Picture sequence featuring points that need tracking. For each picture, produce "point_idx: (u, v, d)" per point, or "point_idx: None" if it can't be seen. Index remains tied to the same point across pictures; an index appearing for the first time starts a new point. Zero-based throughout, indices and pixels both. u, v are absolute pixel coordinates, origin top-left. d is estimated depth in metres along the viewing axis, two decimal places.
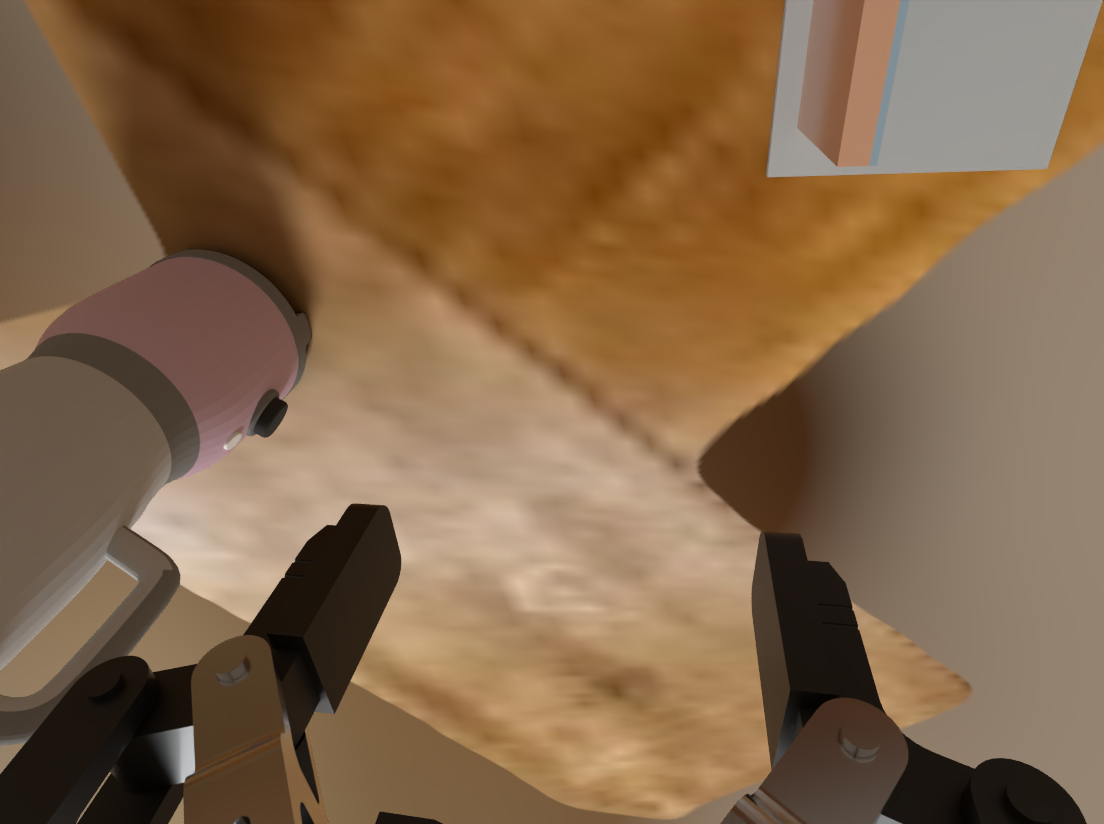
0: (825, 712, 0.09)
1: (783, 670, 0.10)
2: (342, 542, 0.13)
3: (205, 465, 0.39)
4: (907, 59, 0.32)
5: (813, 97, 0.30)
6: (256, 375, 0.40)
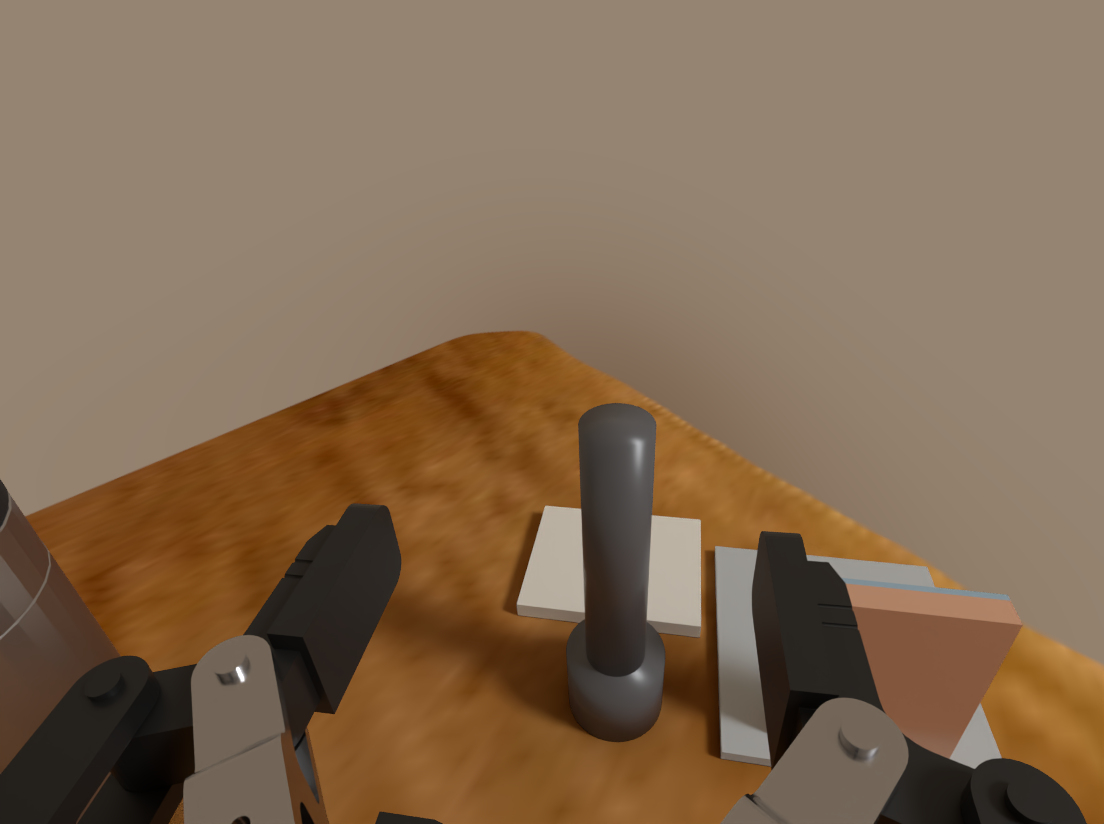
0: (824, 712, 0.09)
1: (784, 669, 0.10)
2: (342, 542, 0.13)
3: None
4: None
5: (925, 716, 0.29)
6: None
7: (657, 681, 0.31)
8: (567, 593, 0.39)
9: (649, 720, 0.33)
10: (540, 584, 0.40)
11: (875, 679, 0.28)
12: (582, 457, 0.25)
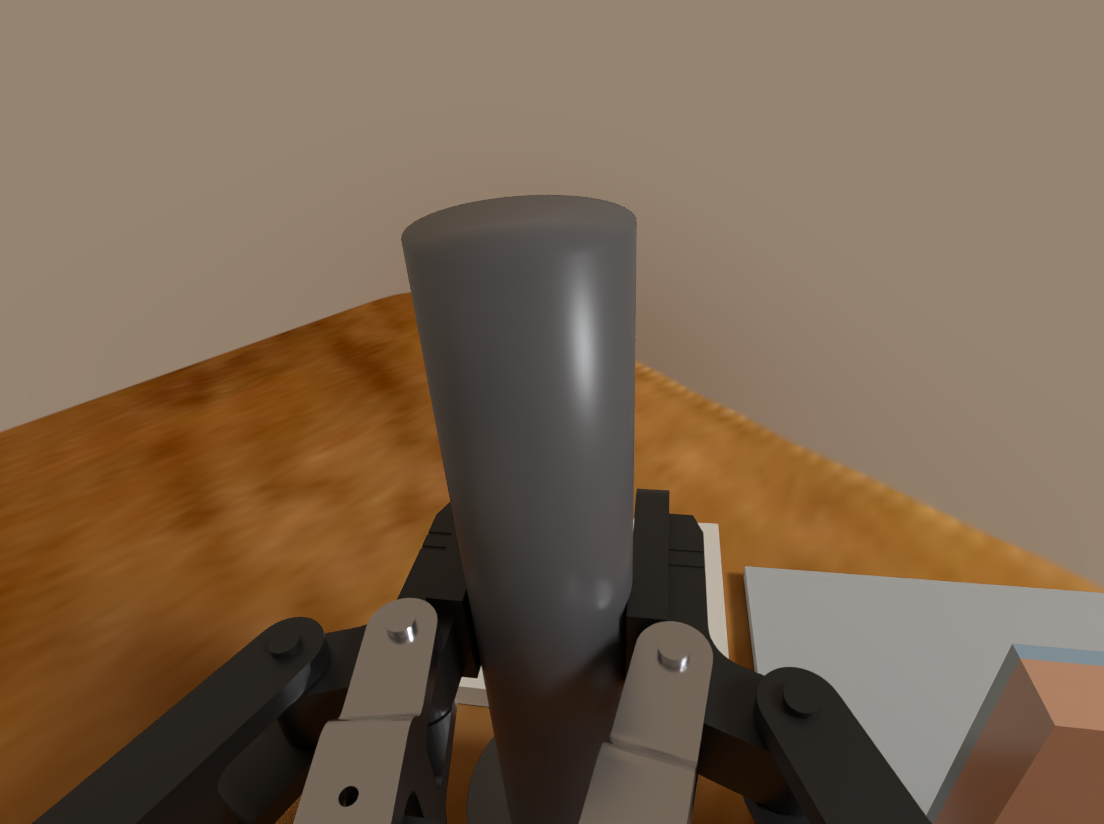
0: (643, 643, 0.10)
1: (628, 601, 0.11)
2: None
3: None
4: None
5: None
6: None
7: None
8: None
9: None
10: None
11: None
12: (420, 330, 0.08)
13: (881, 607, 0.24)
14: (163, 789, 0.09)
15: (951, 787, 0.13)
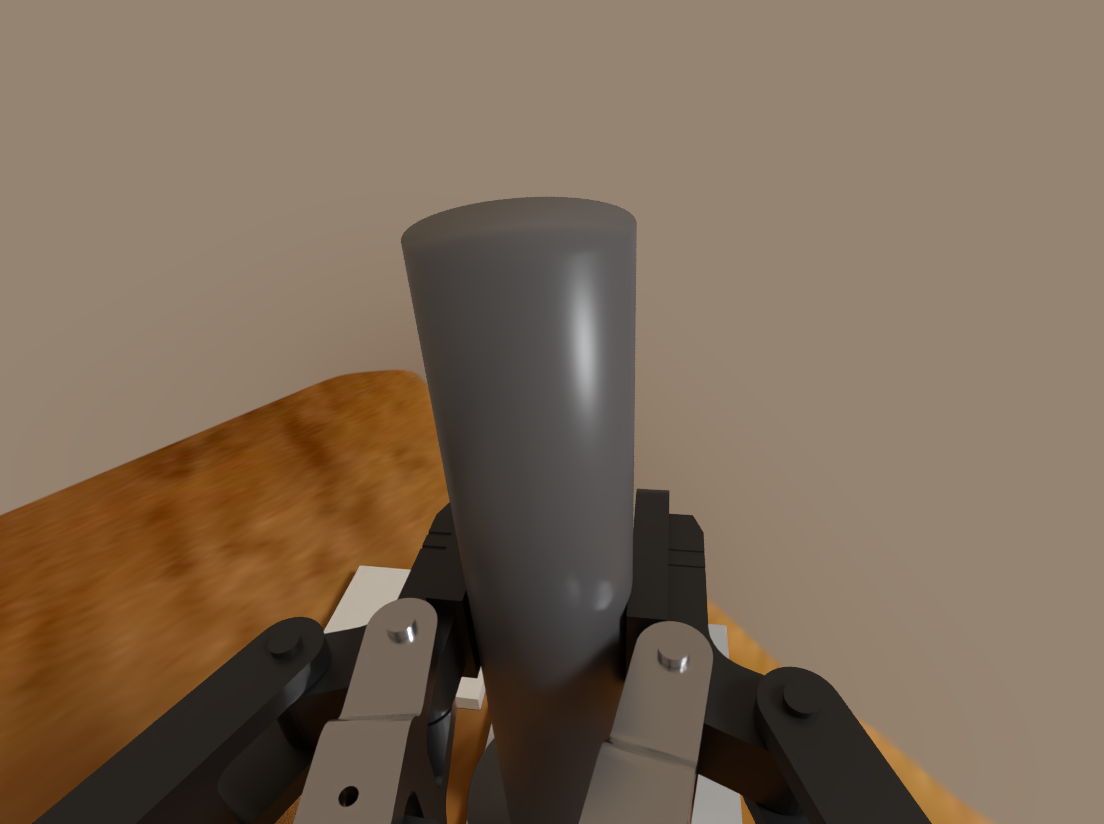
0: (643, 643, 0.10)
1: None
2: None
3: None
4: None
5: None
6: None
7: None
8: None
9: None
10: None
11: None
12: (419, 332, 0.08)
13: None
14: (163, 789, 0.09)
15: None
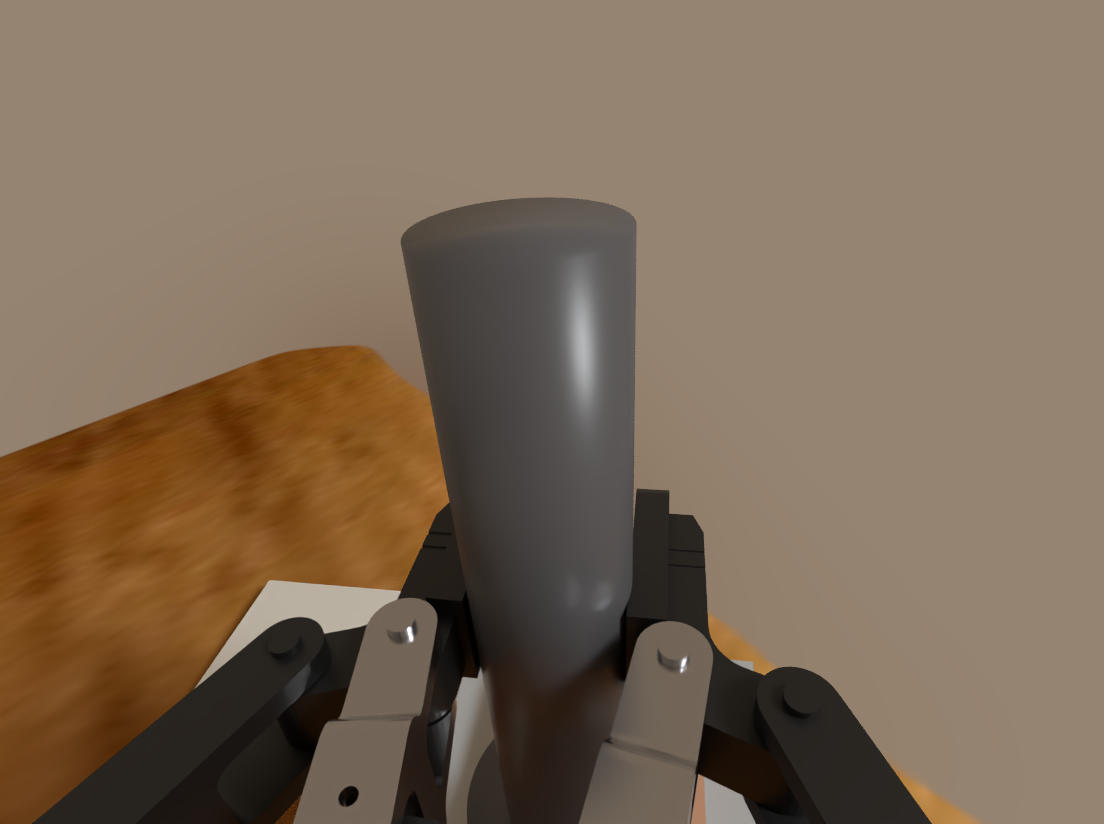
0: (643, 642, 0.10)
1: (628, 601, 0.11)
2: None
3: None
4: None
5: None
6: None
7: None
8: None
9: None
10: None
11: None
12: (419, 333, 0.08)
13: None
14: (163, 789, 0.09)
15: None
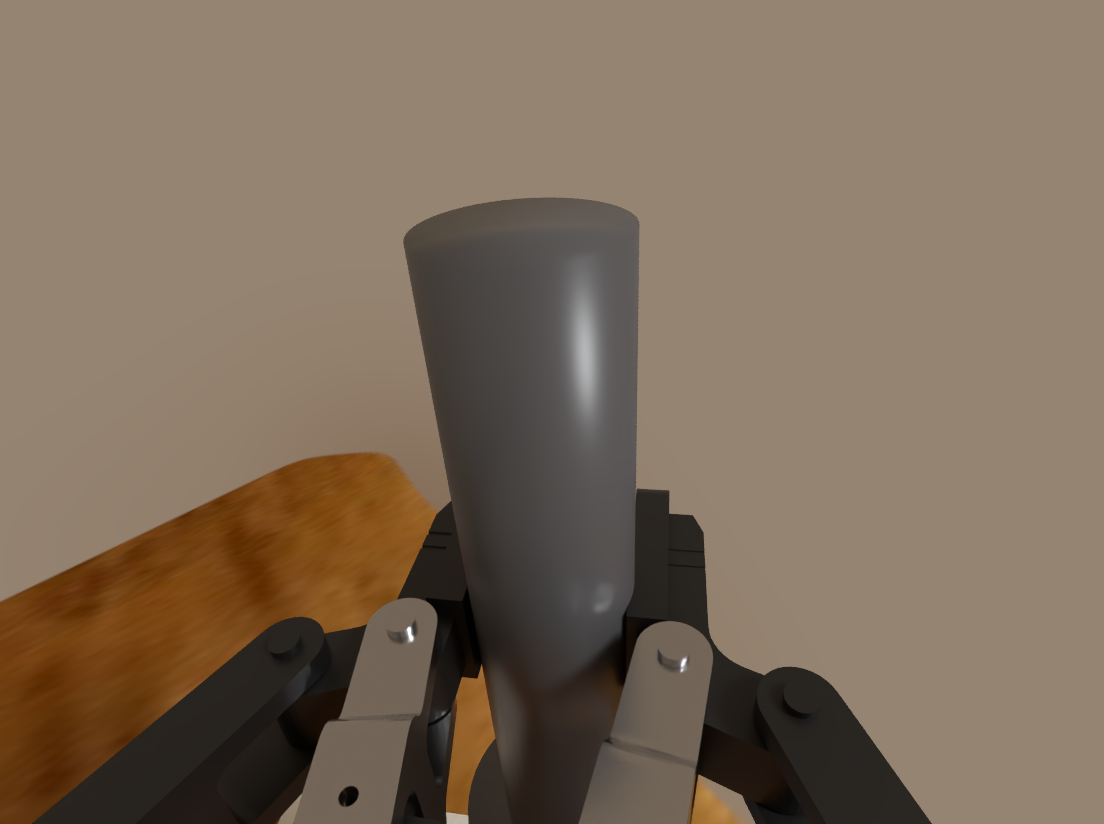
0: (642, 643, 0.10)
1: None
2: None
3: None
4: None
5: None
6: None
7: None
8: None
9: None
10: None
11: None
12: (422, 333, 0.08)
13: None
14: (163, 789, 0.09)
15: None
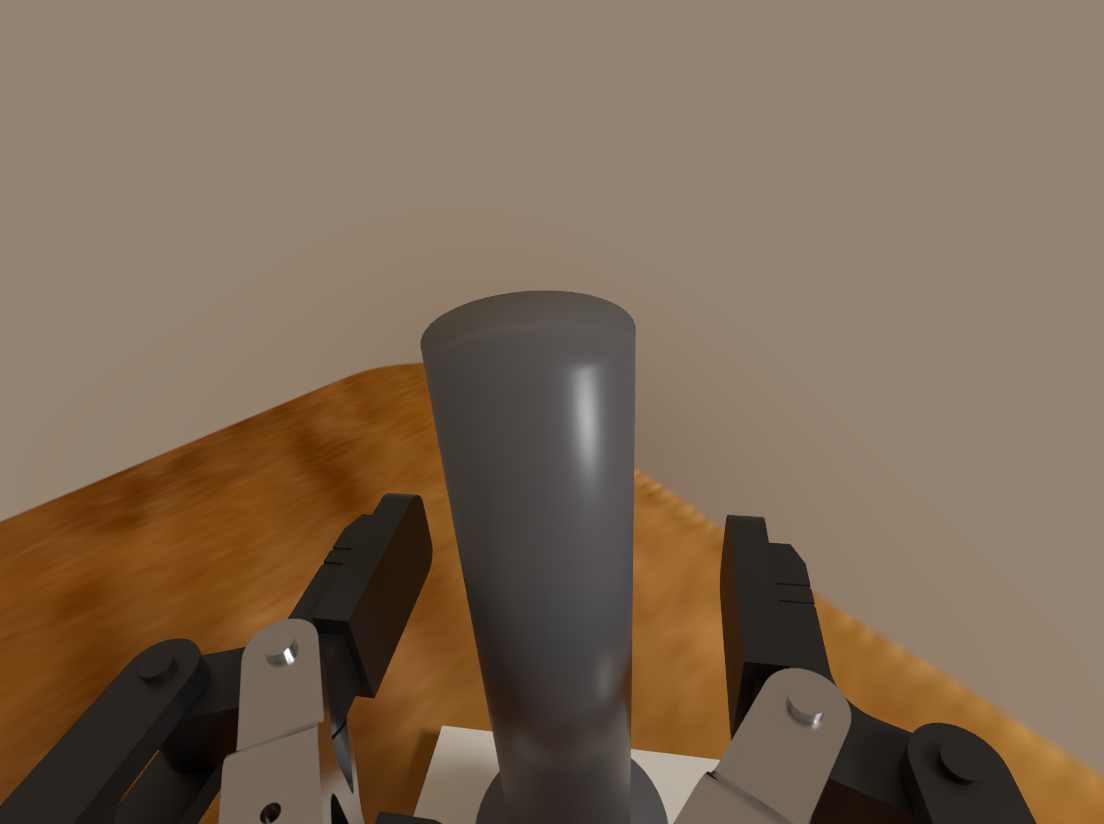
0: (773, 685, 0.09)
1: (740, 643, 0.10)
2: (379, 530, 0.13)
3: None
4: None
5: None
6: None
7: None
8: None
9: None
10: None
11: None
12: (436, 425, 0.09)
13: None
14: None
15: None
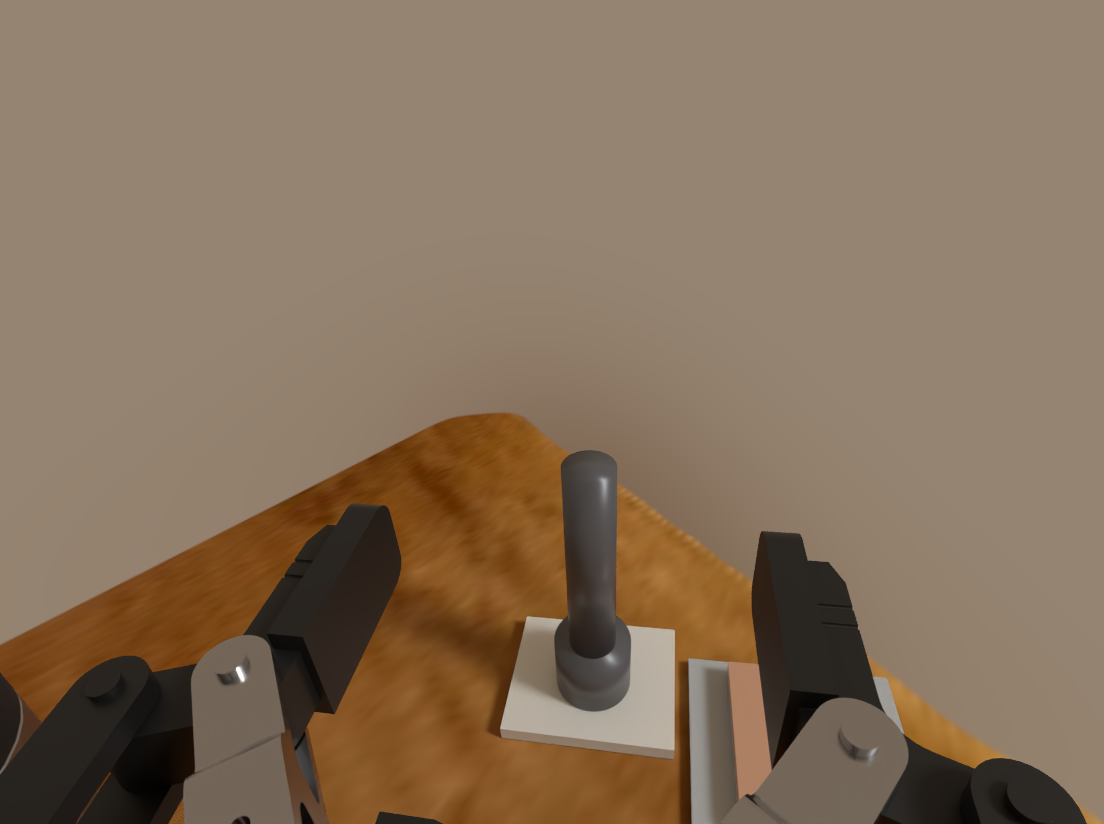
0: (825, 712, 0.09)
1: (784, 669, 0.10)
2: (342, 542, 0.13)
3: None
4: None
5: None
6: None
7: (624, 662, 0.40)
8: (548, 715, 0.42)
9: (619, 694, 0.42)
10: (522, 705, 0.42)
11: None
12: (563, 491, 0.34)
13: None
14: None
15: (730, 730, 0.40)
